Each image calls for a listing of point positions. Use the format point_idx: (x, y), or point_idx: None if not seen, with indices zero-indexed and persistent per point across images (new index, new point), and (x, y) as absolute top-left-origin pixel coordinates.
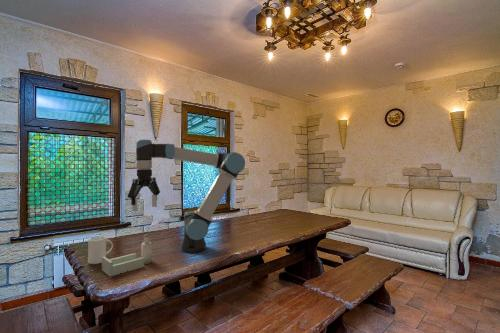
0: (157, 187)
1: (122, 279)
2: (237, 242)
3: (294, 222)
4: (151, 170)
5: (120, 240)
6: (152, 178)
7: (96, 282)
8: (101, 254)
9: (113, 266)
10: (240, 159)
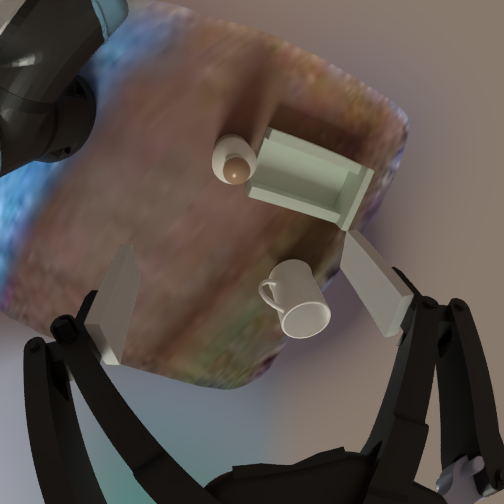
0: (37, 406)
1: (356, 118)
2: None
3: None
4: None
5: (151, 351)
6: None
7: (386, 165)
8: (300, 272)
9: (360, 164)
10: None
